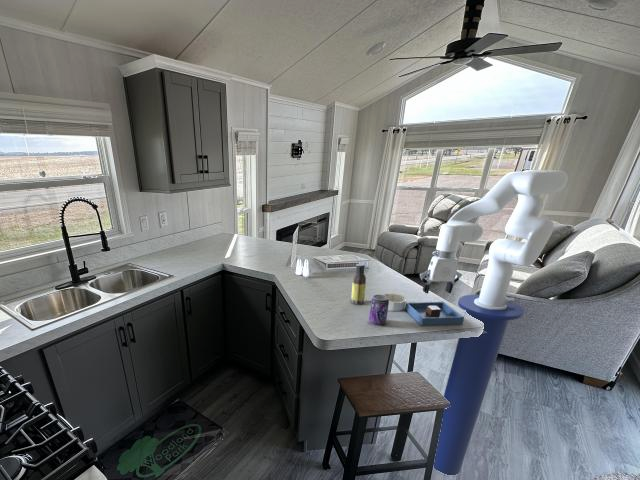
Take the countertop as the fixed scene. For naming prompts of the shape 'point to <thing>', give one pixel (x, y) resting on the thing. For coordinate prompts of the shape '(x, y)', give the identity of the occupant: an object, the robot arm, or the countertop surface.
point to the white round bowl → (396, 302)
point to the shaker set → (304, 269)
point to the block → (433, 311)
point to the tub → (445, 318)
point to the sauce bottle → (358, 285)
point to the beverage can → (379, 309)
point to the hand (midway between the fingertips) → (436, 292)
